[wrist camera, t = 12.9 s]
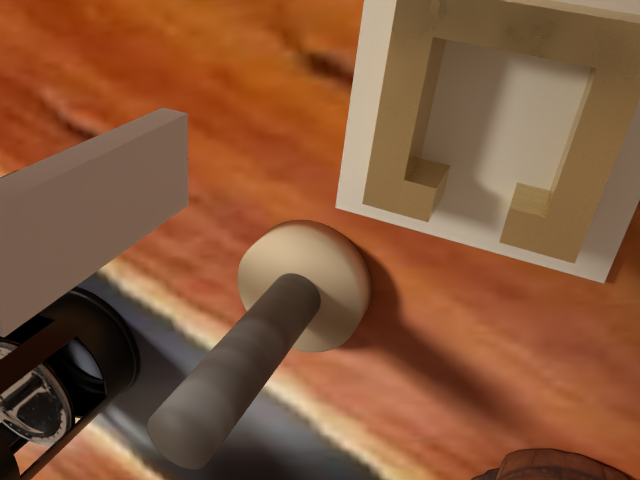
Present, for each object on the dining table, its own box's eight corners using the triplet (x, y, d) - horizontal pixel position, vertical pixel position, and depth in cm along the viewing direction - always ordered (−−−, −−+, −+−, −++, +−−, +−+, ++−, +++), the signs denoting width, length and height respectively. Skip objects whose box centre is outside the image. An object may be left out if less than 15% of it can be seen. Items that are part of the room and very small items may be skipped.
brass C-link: (419, -21, 24) (399, -17, 21) (658, 17, 21) (667, 28, 19) (381, 180, 28) (362, 204, 26) (575, 232, 26) (574, 263, 23)
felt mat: (379, -81, 24) (375, -82, 23) (735, -34, 20) (738, -34, 20) (338, 204, 30) (335, 207, 30) (603, 278, 27) (604, 283, 26)
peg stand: (258, 204, 32) (93, 336, 21) (382, 241, 30) (268, 406, 19) (251, 309, 36) (107, 467, 25) (361, 348, 34) (256, 538, 23)
